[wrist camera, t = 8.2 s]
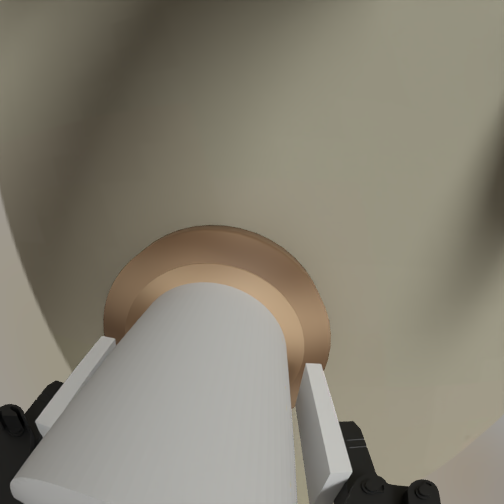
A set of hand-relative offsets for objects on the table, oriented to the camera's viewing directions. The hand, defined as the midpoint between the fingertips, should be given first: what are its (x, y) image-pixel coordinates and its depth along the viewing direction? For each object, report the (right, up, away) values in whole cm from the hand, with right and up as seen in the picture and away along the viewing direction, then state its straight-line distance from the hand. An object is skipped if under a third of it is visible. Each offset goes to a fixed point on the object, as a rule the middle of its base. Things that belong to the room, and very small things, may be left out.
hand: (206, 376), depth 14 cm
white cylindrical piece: (0, +1, +2) cm, 2 cm away
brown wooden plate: (0, +1, +4) cm, 5 cm away
